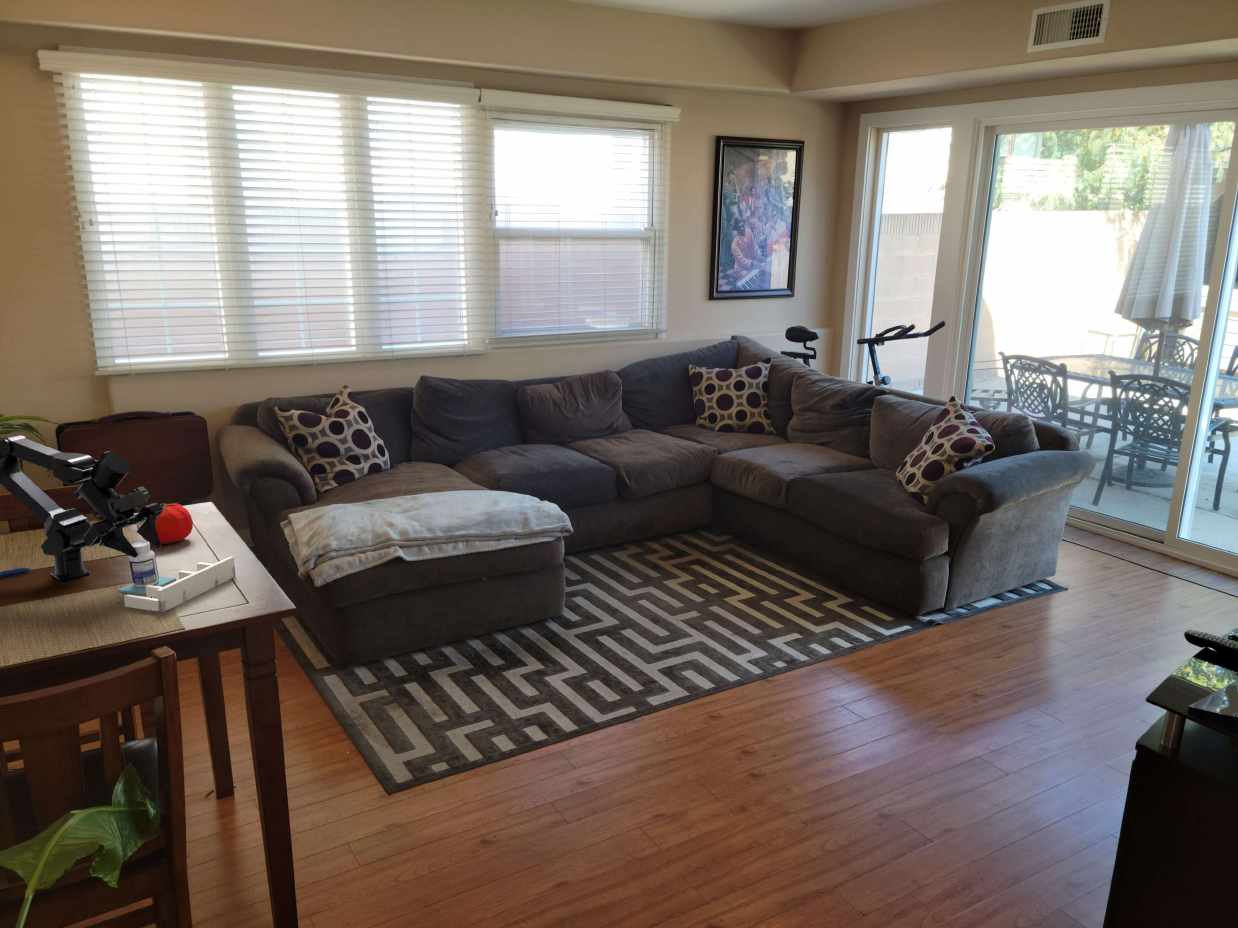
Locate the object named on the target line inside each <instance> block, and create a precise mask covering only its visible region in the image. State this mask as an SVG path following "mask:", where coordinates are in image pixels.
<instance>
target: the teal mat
mask: <svg viewBox="0 0 1238 928" xmlns="http://www.w3.org/2000/svg"><path fill="white" fill-rule="evenodd" d="M175 581H177V578H175V577H171V576H170V577H169V576H163V575H159V581H158V582H157V583H156V584H154V585H153V586H160V587H165V586H167V585H169V584H171V583H173V582H175ZM117 591H118V593H119V592H120V593H126V594H131V595H137V596H144V595H146V587H135V586H134V585H133V582H132V583H130V584H128V585H125V586H123V587H121V588H118V589H117Z"/></svg>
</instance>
